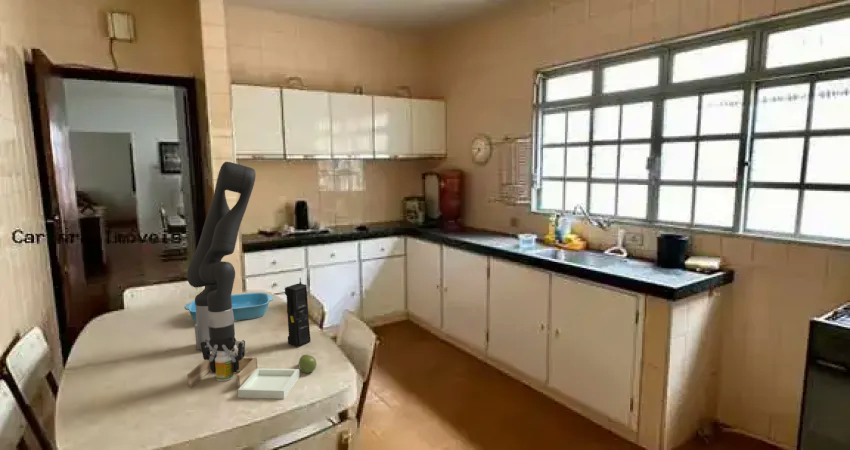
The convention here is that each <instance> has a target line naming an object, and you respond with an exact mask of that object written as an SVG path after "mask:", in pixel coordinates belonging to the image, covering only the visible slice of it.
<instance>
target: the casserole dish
mask: <svg viewBox="0 0 850 450" xmlns="http://www.w3.org/2000/svg"><path fill="white" fill-rule="evenodd" d="M231 300H232V310H233V315H234V322H238V321H246V320H252V319H257V318H260V317H263V316H264V315H265V314H266V313H267V311H268V308H269V307H268V306H269V303H270V302H273V301H274V296H273V295H271V294H268V293H266V292H251V293H250V292H249V293H247V292H246V293H239V294H231ZM184 309H185V310H186V311H189V313H190V316H191V318H192V320H193V321H194V322H195V323H197V319H196V308H195V299H194V300H192V301H191V302H189V303H187V304H185V305H184Z"/></svg>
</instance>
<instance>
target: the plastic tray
mask: <svg viewBox="0 0 850 450" xmlns="http://www.w3.org/2000/svg"><path fill="white" fill-rule="evenodd" d="M300 377H301V376H300V368H263V367H261V368H259V367H257V369H256V370H255V371H254V373H253V374H252V375H251V376H250V377H249V378H248V379H247V380H246V381H245V382H244V384H243V385H242V386H241V387H240V388H239V389H238V388H237V394H238V395H237V396H238V398H243V399H244V398H245V399H247V398H248V399H283V400H284V399H286V397H287V395H288V394H289V393H290V391H291V390H292V388H293V387H294V385H295V384H296V383H297V381H298V379H300Z"/></svg>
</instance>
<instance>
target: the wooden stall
mask: <svg viewBox="0 0 850 450" xmlns="http://www.w3.org/2000/svg"><path fill="white" fill-rule="evenodd" d="M257 368H258V357H256V356H244V357H243V358H242V359H241V360H240V361H239V369H238V370H237V372H238V374H237V375H236V381H237V390H238V389H239V388H240V387H241V386H242V385H243V384H244V382H245V381H246V380H247V379H248V378H249V377H250V376H251V375H252V374H253V373H254V371H255V370H256V369H257ZM210 371H211V369H210V361H209V360H204V359H203V361H202V362H200V363H199V364H198V365H197V366H196V367H195V368H193V369H192V370H190V371H189V372H188V373H187V383H188V388H189V389H191V388H193V387H194V386H195V385H197V383H198V382H200V381H201V380H202V379H203V378H204V377H205V376H206V375H208V374H209V372H210ZM239 371H240V372H239ZM211 372H212V371H211Z"/></svg>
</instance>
